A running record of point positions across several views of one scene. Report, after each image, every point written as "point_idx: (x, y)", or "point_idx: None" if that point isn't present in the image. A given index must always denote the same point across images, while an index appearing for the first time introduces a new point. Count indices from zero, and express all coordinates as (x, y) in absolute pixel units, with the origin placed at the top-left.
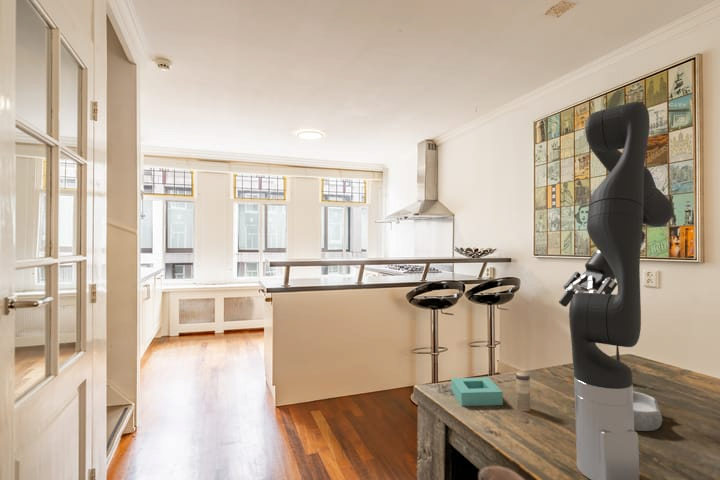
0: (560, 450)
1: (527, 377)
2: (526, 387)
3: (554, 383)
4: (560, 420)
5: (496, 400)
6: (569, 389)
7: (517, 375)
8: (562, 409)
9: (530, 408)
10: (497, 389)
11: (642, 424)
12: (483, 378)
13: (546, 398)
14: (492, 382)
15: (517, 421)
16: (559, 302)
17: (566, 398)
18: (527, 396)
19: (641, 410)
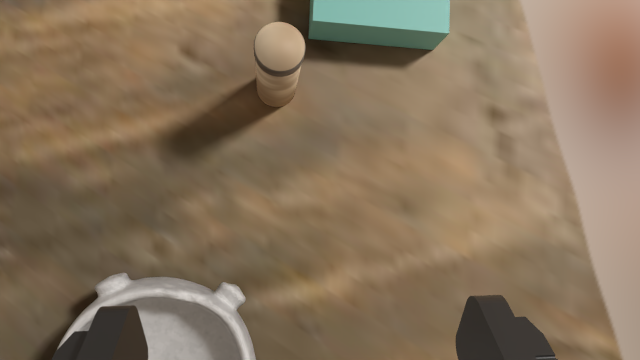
0: (20, 54)
1: (255, 55)
2: (255, 63)
3: (468, 297)
4: (185, 152)
5: (310, 13)
6: (410, 319)
7: (273, 23)
8: (257, 202)
9: (267, 103)
10: (334, 13)
11: None
12: (439, 11)
13: (344, 198)
14: (399, 25)
15: (195, 28)
16: (489, 296)
17: (337, 263)
18: (256, 76)
19: None
